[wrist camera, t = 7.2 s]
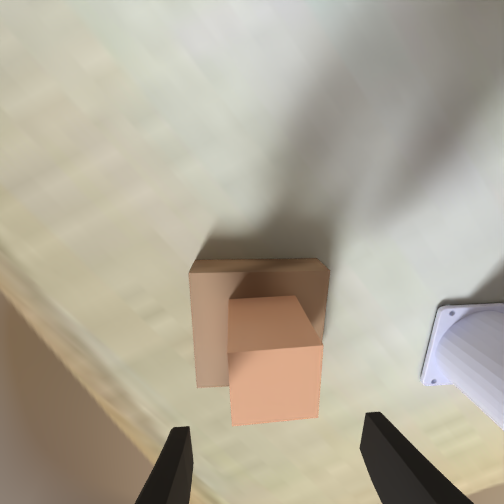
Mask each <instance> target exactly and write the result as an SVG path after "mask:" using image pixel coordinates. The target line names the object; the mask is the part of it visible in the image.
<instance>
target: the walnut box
mask: <svg viewBox="0 0 504 504" xmlns="http://www.w3.org/2000/svg"><path fill="white" fill-rule="evenodd" d="M329 277H330V270H329V269H328V268H327V267H326V266H325V265H324V264H323V263H321V262H320V261H319V260H318V259H317V258H301V259H223V260H195V261H194V263H193V265H192V267H191V269H190V271H189V285H190V299H191V313H192V327H193V341H194V355H195V369H196V383H197V388H205V387H223V386H229V372H228V357H227V341H228V300H229V299H242V298H259V297H276V296H293V295H295V296H296V297H297V299H298V301H299V303H300V305H301V306H302V308H303V310H304V312H305V313H306V315H307V317H308V319H309V321H310V322H311V324H312V326H313V328H314V330H315V331H316V333H317V335H318V337H319V338H320V340H321V342H322V337H323V329H324V320H325V311H326V303H327V294H328V286H329Z"/></svg>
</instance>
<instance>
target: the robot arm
mask: <svg viewBox="0 0 504 504" xmlns="http://www.w3.org/2000/svg"><path fill="white" fill-rule="evenodd" d="M450 311H451V312H450ZM420 381H421V383H422V384H423V385H425V386H434V385H447V384H454V385H455V386H456V387H457V388H458V389H459V390H460V391H461V392H462V393H463V394H465V395H466V396H467V397H468V398H469V399H470V400H471V401H472V402H473V403H474V404H475V405H476V406H478V407H479V408H480V409H481V410H482V411H483V412H484V413H485V414H486V415H487V416H488V417H489V418H491V419H492V420H493V421H494V422H495V423H496V424H497V425H498V426H499V427H500V428H501V429H502V430H504V303H493V304H472V305H451V306H442V307H440V308H439V309H438V311H437V314H436V318H435V322H434V326H433V330H432V335H431V339H430V343H429V347H428V351H427V355H426V359H425V363H424V367H423V371H422V375H421V379H420ZM360 451H361V453H362V456H363V459H364V462H365V465H366V467H367V470H368V472H369V475H370V478H371V480H372V483H373V485H374V487H375V489H376V491H377V493H378V495H379V498H380V500H381V502H382V504H474V503H473V502H472V501H471V500H469V499H468V498H467V497H466V496H465V495H464V494H463V493H462V492H461V491H460V490H459V489H457V488H456V487H455V486H454V485H453V484H452V483H451V482H450V481H449V480H448V479H447V478H446V477H445V476H444V475H443V474H442V473H441V472H440V471H439V470H438V469H437V468H436V467H435V466H433V465H432V464H431V463H430V462H429V461H428V460H427V459H426V458H425V457H424V456H423V455H422V454H421V453H420V452H419V451H418V450H417V449H416V448H415V447H414V446H413V445H412V444H411V443H410V442H409V441H408V440H407V439H406V438H405V437H404V436H403V435H402V434H401V433H400V431H399V430H398V429H397V428H396V427H395V426H394V425H393V424H392V423H391V422H390V421H389V420H388V419H387V418H386V417H385V416H384V415H383V414H382V413H381V412H369V413H366V415H365V420H364V426H363V432H362V438H361V444H360ZM193 463H194V462H193V454H192V445H191V436H190V427H189V426H186V427H174V428H173V429H171V431H170V434H169V436H168V438H167V440H166V443H165V445H164V447H163V449H162V451H161V453H160V456H159V458H158V460H157V462H156V464H155V466H154V468H153V470H152V472H151V474H150V476H149V478H148V480H147V481H146V483H145V485H144V487H143V489H142V491H141V493H140V495H139V497H138V498H137V500H136V503H135V504H189V500H190V491H191V482H192V473H193Z"/></svg>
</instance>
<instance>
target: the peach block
mask: <svg viewBox="0 0 504 504" xmlns="http://www.w3.org/2000/svg"><path fill="white" fill-rule="evenodd" d="M227 357H228V372H229V387H230V402H231V417H232V426H240V425H250V424H260V423H269V422H279V421H289V420H299V419H309V418H318V411H319V398H320V384H321V371H322V357H323V344H322V342H321V340H320V338H319V337H318V335H317V333H316V331H315V330H314V328H313V326H312V324H311V322H310V321H309V319H308V317H307V315H306V313H305V312H304V310H303V308H302V306H301V305H300V303H299V301H298V299H297V297H296V296H295V295H293V296H276V297H259V298H242V299H229V300H228V341H227Z"/></svg>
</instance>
